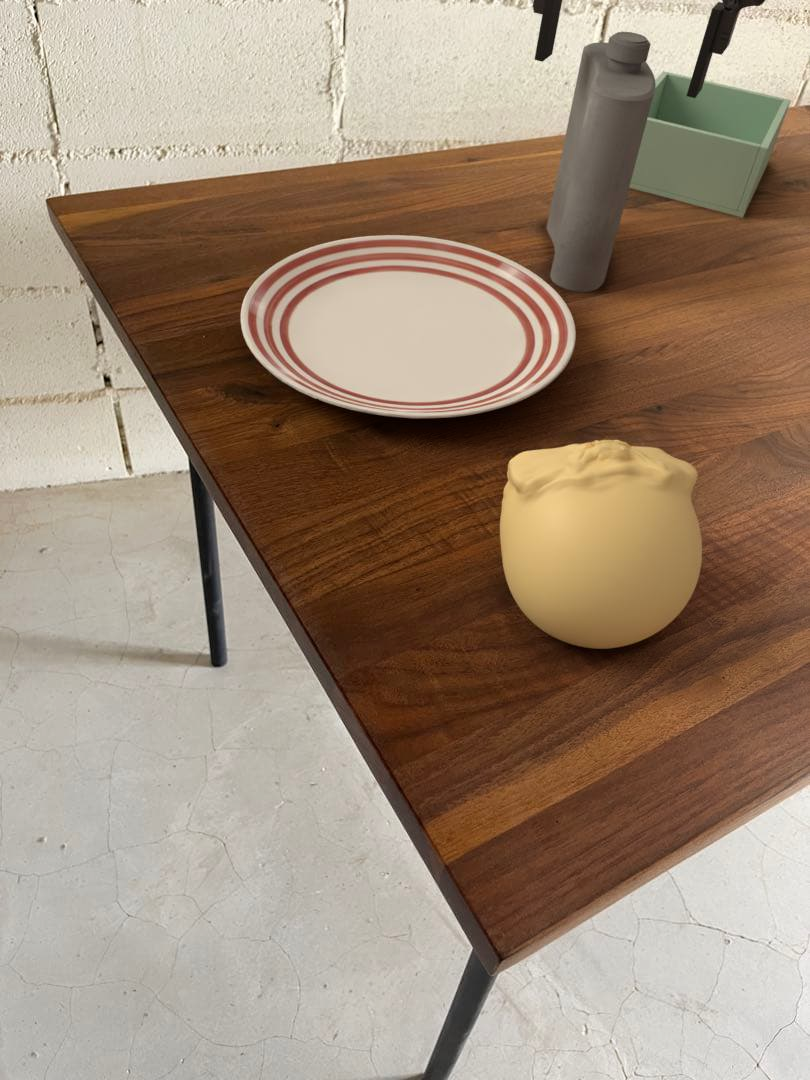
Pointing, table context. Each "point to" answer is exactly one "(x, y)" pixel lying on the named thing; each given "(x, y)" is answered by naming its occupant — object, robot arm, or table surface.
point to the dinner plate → (408, 326)
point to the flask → (599, 158)
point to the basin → (707, 143)
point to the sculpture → (600, 540)
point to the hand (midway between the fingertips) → (616, 75)
